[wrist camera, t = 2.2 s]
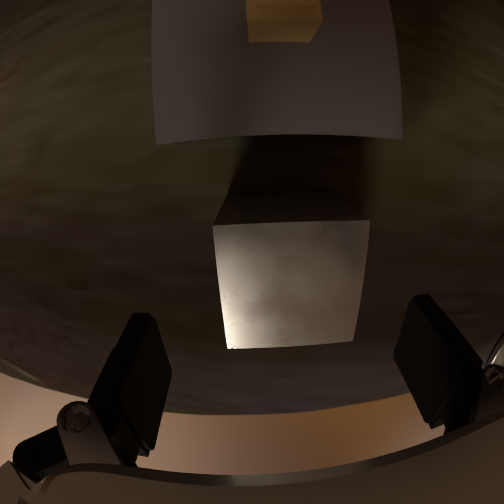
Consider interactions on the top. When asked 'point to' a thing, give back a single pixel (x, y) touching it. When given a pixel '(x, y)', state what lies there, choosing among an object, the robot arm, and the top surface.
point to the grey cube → (289, 268)
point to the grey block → (274, 69)
